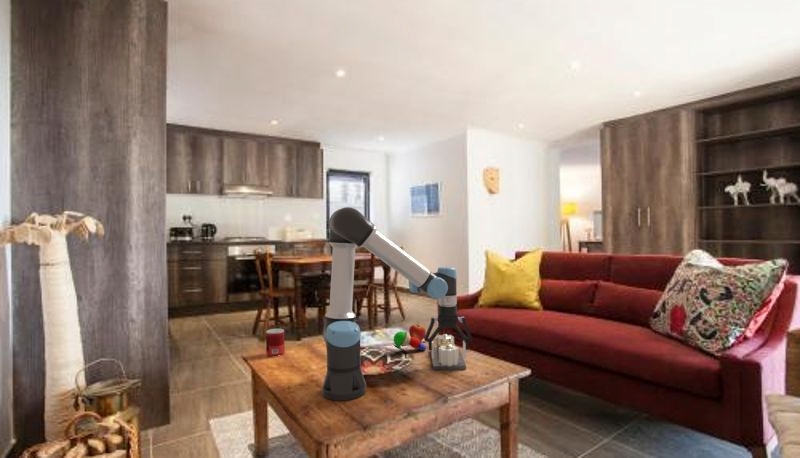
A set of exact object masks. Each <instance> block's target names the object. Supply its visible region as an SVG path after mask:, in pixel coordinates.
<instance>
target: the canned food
mask: <svg viewBox="0 0 800 458" xmlns="http://www.w3.org/2000/svg"><path fill="white" fill-rule="evenodd" d="M265 344H266V345H265V350H266V356H267V355H268V356H277V357H279V356H278V355H281V356H283V355H284V354H285V330H284V328H271V329H268V330H266V332H265ZM282 354H283V355H282ZM268 356H267V357H268Z"/></svg>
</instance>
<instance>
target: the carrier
mask: <svg viewBox="0 0 800 458" xmlns="http://www.w3.org/2000/svg"><path fill="white" fill-rule="evenodd" d="M435 340H436V344H435V345H436V347H434V359H432V350H430V357H431V364H432V369H433V371H453V370H454V371H461V370H462V371H463V370H465V371H466V370H467V365H466V362H465V359H464V358H463V353H462V352H461V349H460V347H459V346H457V347H458V350H459V363H458V365H452V366H448V365H441V363H439V348H440V346H446V349H451V346H456V344H455V337H454V336H453V335H452V334H447V333H444V334H439V335H438V334H437V336H436V337H435Z"/></svg>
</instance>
